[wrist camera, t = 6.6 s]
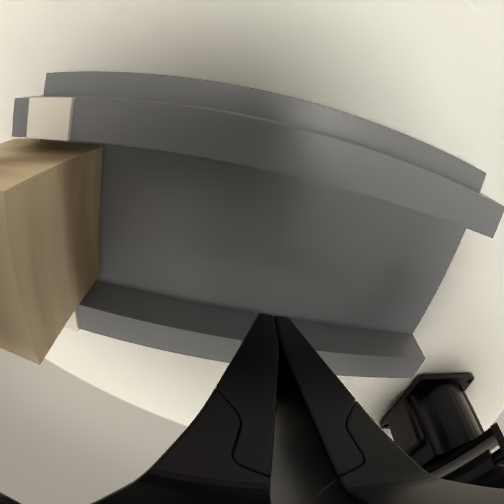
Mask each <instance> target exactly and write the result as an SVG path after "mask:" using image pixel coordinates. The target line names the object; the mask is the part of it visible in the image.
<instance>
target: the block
mask: <svg viewBox="0 0 504 504" xmlns="http://www.w3.org/2000/svg"><path fill="white" fill-rule="evenodd" d="M103 148H104V146H101V145H92V144H81V143H71V142H58V141H44V140H28V139H14V140H11V141H7V142H4V143H1V144H0V348H3V349H5V350H7V351H9V352H11V353H13V354H16V355H18V356H20V357H23V358H25V359H27V360H30V361H32V362H34V363H37V364H39V365H40V364H41V362H42V361H43V359H44V357H45V356H46V354H47V353H48V351H49V349H50V348H51V346H52V345H53V343H54V341H55V340H56V338H57V337H58V335H59V334H60V332H61V330H62V329H63V327H64V326H65V324H66V323H67V321H68V320H69V318H70V317H71V315H72V314H73V312H74V311H75V309H76V308H77V307H78V305H79V304H80V302H81V301H82V299H83V298H84V296H85V295H86V294H87V292H88V291H89V289H90V288H91V287H92V285H93V284H94V282H95V281H96V280H97V278H98V277H99V276H100V274H101V272H100V191H101V173H102V159H103Z"/></svg>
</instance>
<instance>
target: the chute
mask: <svg viewBox="0 0 504 504" xmlns="http://www.w3.org/2000/svg"><path fill="white" fill-rule="evenodd" d="M12 136H14V137H26V138H35V139H40V140H44V141H58V142H71V143H81V144H92V145H101V146H104V148H103V159H102V173H101V191H100V272H101V274H100V276H99V277H98V278H97V280H96V281H95V282H94V284H93V285H92V287H91V288H90V289H89V291H88V292H87V294H86V295H85V296H84V298H83V299H82V301H81V302H80V304H79V305H78V307H77V308H76V309H75V311H74V312H73V314H72V315H71V317H70V318H69V320H68V321H67V323H66V324H65V326H64V327H66V328H69V329H73V330H76V331H78V330H79V329H83V330H87V331H90V332H93V333H97V334H100V335H104V336H108V337H111V338H115V339H119V340H123V341H127V342H130V343H135V344H139V345H143V346H147V347H151V348H156V349H160V350H165V351H169V352H174V353H179V354H184V355H189V356H194V357H199V358H204V359H210V360H216V361H221V362H227V363H230V362H231V360H232V359H233V357H234V355H235V354H236V352H237V350H238V348H239V347H240V345H241V343H242V341H243V340H244V338H245V336H246V334H247V333H248V331H249V329H250V327H251V326H252V324H253V322H254V320H255V319H256V317H257V315H258V314H259V313H265V314H271V315H273V316H275V315H278V316H284V317H288V318H290V319H291V321H292V322H293V323H294V324H295V326H296V327H297V328H298V329H299V331H300V332H301V333H302V334H303V336H304V337H305V338H306V339H307V341H308V342H309V343H310V344H311V345H312V347H313V348H314V349H315V350H316V352H317V353H318V354H319V355H320V357H321V358H322V359H323V360H324V362H325V363H326V364H327V365H328V366H329V368H330V369H331V370H332V371H333V373H334V374H335V375H341V376H359V377H387V378H412V376H413V375H414V374H415V372H416V371H417V370H418V368H419V367H420V365H421V364H422V363H423V361H424V360H425V357H424V355H423V353H422V351H421V349H420V348H419V346H418V344H417V342H416V340H415V338H414V336H413V335H412V333H413V332H414V330H415V328H416V327H417V325H418V323H419V322H420V320H421V318H422V316H423V315H424V313H425V311H426V309H427V308H428V306H429V304H430V302H431V300H432V299H433V297H434V295H435V293H436V291H437V289H438V287H439V285H440V283H441V281H442V280H443V278H444V276H445V274H446V271H447V269H448V267H449V265H450V263H451V261H452V259H453V257H454V255H455V253H456V250H457V248H458V246H459V244H460V241H461V239H462V237H463V234H464V232H465V230H466V228H467V229H470V230H473V231H475V232H478V233H481V234H483V235H486V236H488V237H491V238H493V236H494V234H495V232H496V229H497V227H498V224H499V222H500V219H501V217H502V214H503V212H504V206H502V205H501V204H499V203H497V202H496V201H494V200H492V199H491V198H489V197H487V196H485V195H484V194H482V193H480V190H481V188H482V185H483V182H484V179H485V176H486V173H485V172H483V171H481V170H479V169H478V168H476V167H474V166H472V165H470V164H468V163H466V162H464V161H462V160H460V159H458V158H456V157H454V156H452V155H450V154H448V153H446V152H444V151H442V150H439V149H437V148H435V147H433V146H431V145H428V144H426V143H424V142H422V141H419V140H417V139H415V138H412V137H410V136H407V135H405V134H403V133H400V132H398V131H395V130H392V129H390V128H387V127H385V126H382V125H379V124H377V123H374V122H371V121H368V120H365V119H362V118H360V117H357V116H354V115H351V114H348V113H344V112H341V111H338V110H335V109H332V108H328V107H325V106H322V105H318V104H315V103H311V102H307V101H304V100H300V99H296V98H292V97H288V96H284V95H280V94H276V93H271V92H267V91H262V90H258V89H253V88H248V87H243V86H237V85H232V84H226V83H220V82H214V81H208V80H201V79H193V78H185V77H177V76H167V75H156V74H143V73H126V72H58V73H47V75H46V81H45V88H44V95H42V96H32V97H23V98H15V103H14V114H13V130H12Z"/></svg>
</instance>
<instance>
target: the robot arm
mask: <svg viewBox="0 0 504 504" xmlns="http://www.w3.org/2000/svg"><path fill="white" fill-rule="evenodd" d="M473 380H474V377H473V375H472V374H448V375H421V376H419V377H418V378H417V379H416V380H415V381H414V382H413V383H412V385H411V386H410V387H409V389H408V390H407V391H406V392H405V394H404V395H403V396H402V397H401V398H400V400H399V401H398V402H397V403H396V405H395V406H394V407H393V408H392V409H391V410H390V412H389V413H388V414H387V415H386V416H385V417H384V418H383V420H382V421H381V422H380V423H379V424H380V427H379V426H378V425H377V424H376V423H375V422H374V421H373V419H372V418H371V417H370V416H369V415H368V414H367V412H366V411H365V410H364V409H363V408H362V407H361V405H360V404H359V403H358V402H357V401H356V402H355V398H354V397H353V396H352V395H351V393H350V392H349V391H348V390H347V388H346V387H345V386H344V385H343V384H342V382H341V381H340V380H339V379H338V377H337V376H336V375H335V374H334V373H333V371H332V370H331V369H330V368H329V366H328V365H327V364H326V363H325V362H324V360H323V359H322V358H321V357H320V355H319V354H318V353H317V352H316V350H315V349H314V348H313V347H312V345H311V344H310V343H309V342H308V341H307V339H306V338H305V337H304V336H303V334H302V333H301V332H300V331H299V329H298V328H297V327H296V326H295V324H294V323H293V322H292V321H291V319H290V318H288V317H284V316H278V315H275V316H273V315H271V314H265V313H259V314H258V315H257V317H256V319H255V320H254V322H253V324H252V326H251V327H250V329H249V331H248V333H247V334H246V336H245V338H244V340H243V341H242V343H241V345H240V347H239V348H238V350H237V352H236V354H235V355H234V357H233V359H232V360H231V362H230V364H229V366H228V367H227V369H226V371H225V372H224V374H223V376H222V377H221V379H220V381H219V383H218V384H217V386H216V388H215V389H214V391H213V392H212V394H211V396H210V397H209V399H208V400H207V402H206V403H205V405H204V406H203V408H202V409H201V411H200V412H199V414H198V415H197V416H196V418H195V419H194V420H193V421H192V423H191V424H190V425H189V426H188V427H187V429H186V430H185V431H184V432H183V433H182V434H181V435H180V437H179V438H178V439H177V440H176V441H175V442H174V443H173V444H172V445H171V446H170V447H169V449H168V450H167V451H166V452H165V453H164V454H163V455H162V456H161V457H160V458H159V459H158V460H157V461H156V462H155V463H154V464H153V465H152V466H151V467H150V468H149V469H148V470H147V471H146V472H145V473H144V474H143V475H141V476H140V477H139V478H137V479H136V480H135V481H133V482H131V483H129V484H128V485H126V486H124V487H122V488H121V489H119V490H117V491H115V492H113V493H111V494H109V495H107V496H105V497H103V498H101V499H99V500H97V501H95V502H93V503H91V504H504V436H503V434H502V432H501V430H500V428H499V426H498V424H497V423H495V424H493V425H492V426H491V428H490V429H488V430H487V431H485V432H484V430H483V428H482V426H481V424H480V422H479V420H478V417H477V415H476V413H475V411H474V409H473V407H472V405H471V403H470V401H469V399H468V397H467V396H466V394H465V392H464V391H465V390H466V389H467V387H468V386H469V385H470V384H471V382H472V381H473ZM388 428H390V430H391V434H392V437H393V440H394V441H393V440H392V439H391V438H390V437H389V436H388V435H387V434H386V433H385V432H384V431H383V430H382V429H388ZM498 445H499V446H500V448H499V449H498V450H497V451H495V452H494V453H492V454H491V452H490V450H492V449H493V448H495V447H496V446H498ZM0 504H21V503H19V502H17V501H15V500H14V499H12V498H10V497H8V496H6V495H4V494H3V493H1V492H0Z"/></svg>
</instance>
